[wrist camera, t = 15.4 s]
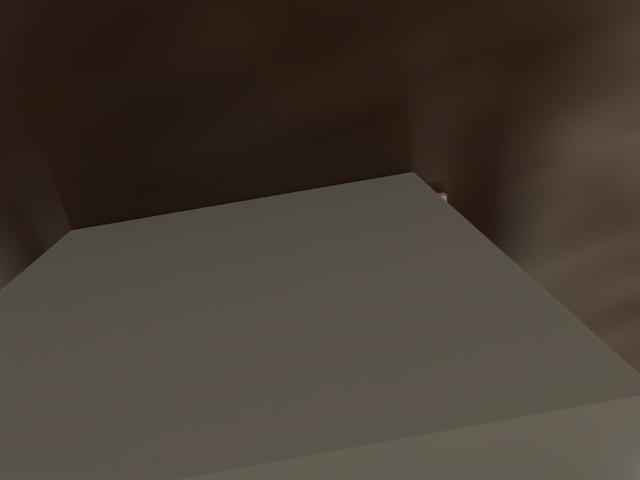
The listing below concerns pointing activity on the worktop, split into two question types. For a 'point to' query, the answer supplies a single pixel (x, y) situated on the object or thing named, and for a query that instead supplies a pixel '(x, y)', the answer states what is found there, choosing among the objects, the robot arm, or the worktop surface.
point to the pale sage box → (304, 351)
